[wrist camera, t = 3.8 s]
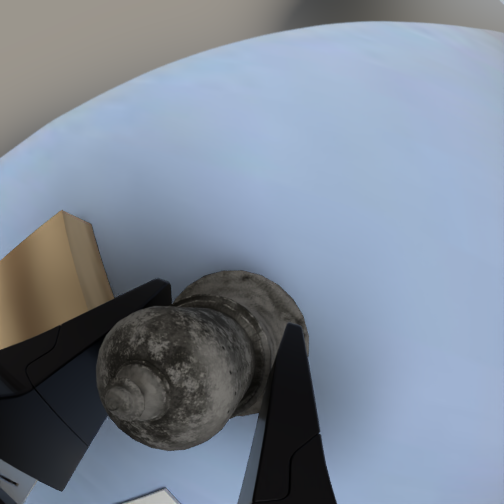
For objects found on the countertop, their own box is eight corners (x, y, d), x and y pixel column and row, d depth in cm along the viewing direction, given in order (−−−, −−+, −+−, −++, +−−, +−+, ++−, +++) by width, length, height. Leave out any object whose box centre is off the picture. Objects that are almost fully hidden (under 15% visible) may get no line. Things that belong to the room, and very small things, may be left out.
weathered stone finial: (329, 326, 15) (439, 370, 3) (256, 415, 14) (175, 593, 3) (235, 256, 16) (101, 125, 4) (168, 344, 16) (-34, 378, 4)
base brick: (44, 416, 16) (15, 425, 13) (4, 288, 18) (-24, 284, 15) (148, 380, 15) (120, 391, 12) (91, 224, 18) (61, 209, 15)
